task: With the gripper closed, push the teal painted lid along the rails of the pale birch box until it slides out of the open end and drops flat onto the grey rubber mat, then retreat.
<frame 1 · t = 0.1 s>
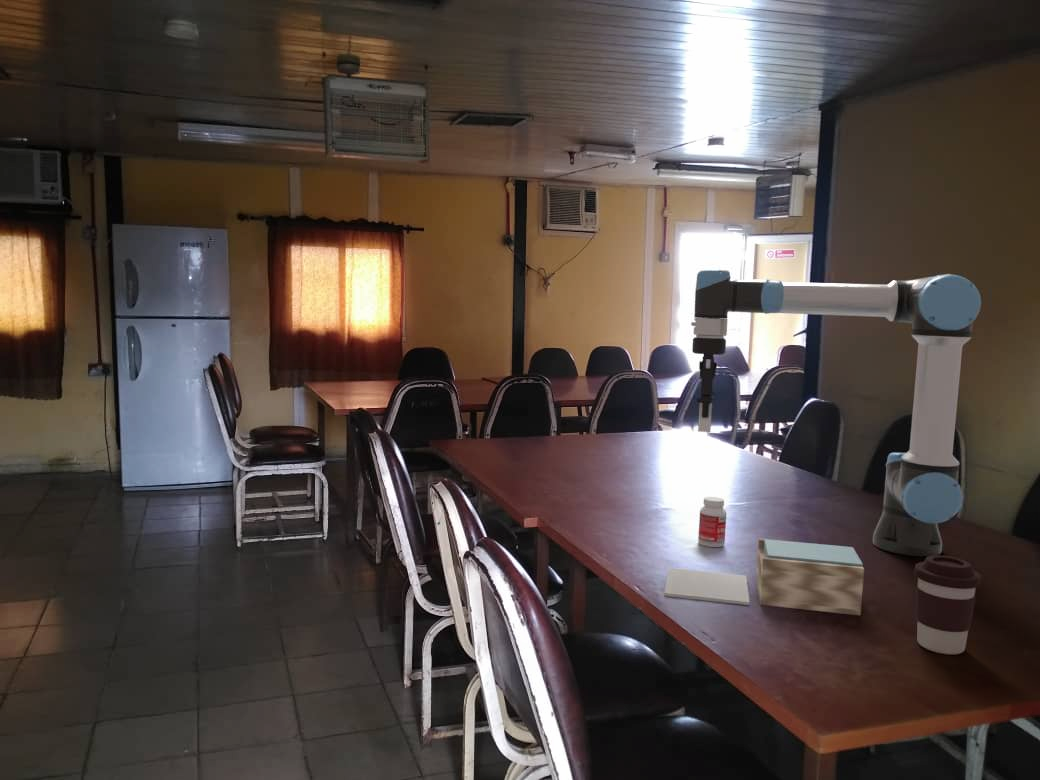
hand: (704, 427, 193), 28 cm above the table, fingers open, 13 cm apart
box: (805, 597, 162), on the table
coffee cup: (940, 647, 140), on the table
pill bottle: (711, 545, 196), on the table
mat: (706, 586, 166), on the table
lid: (810, 562, 161), point 7 cm above the table, touching box
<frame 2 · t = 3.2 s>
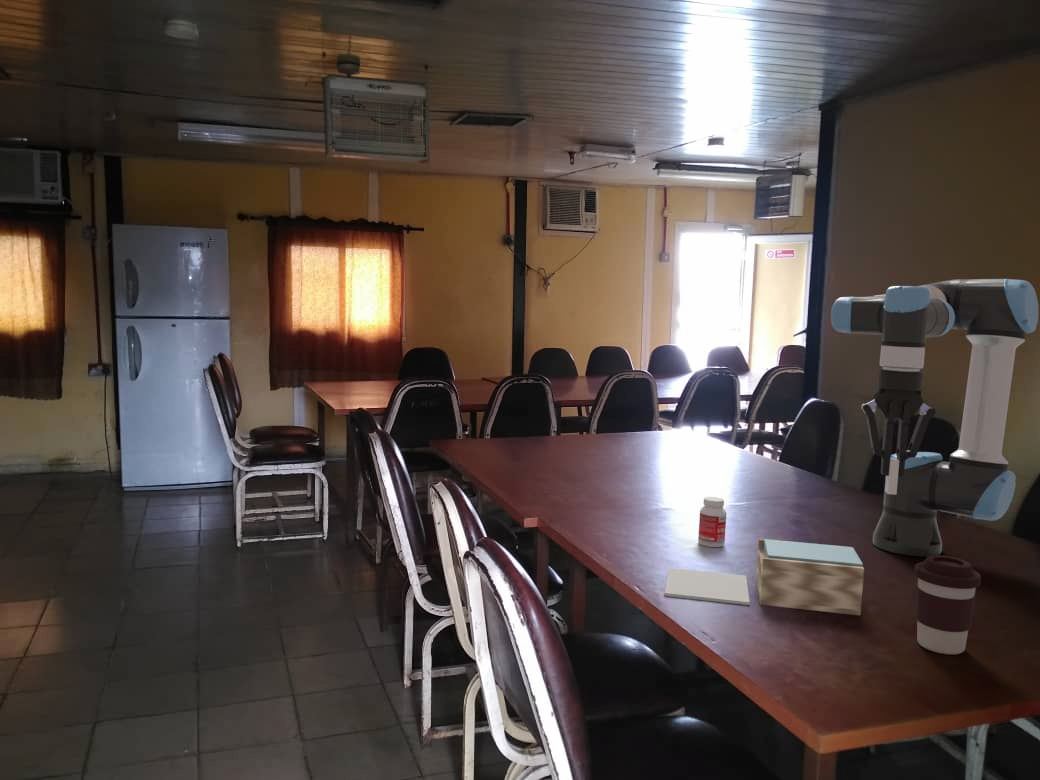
hand: (890, 492, 156), 22 cm above the table, fingers closed
nothing on the table moved.
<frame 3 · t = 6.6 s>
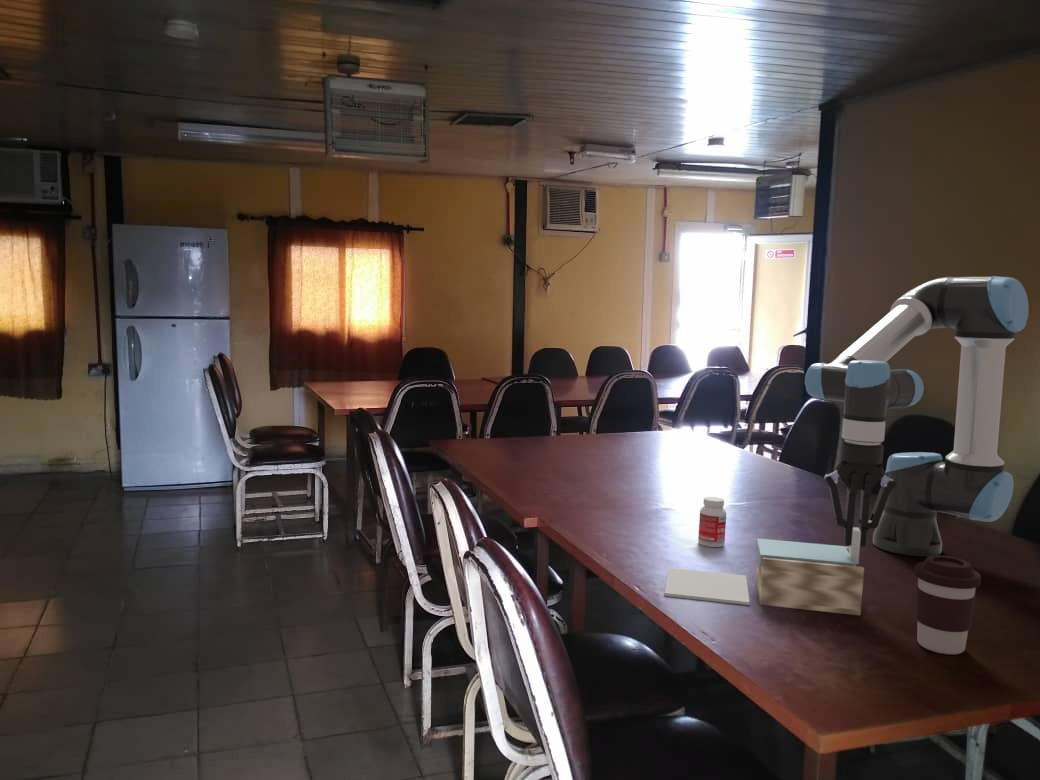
hand: (853, 561, 159), 8 cm above the table, fingers closed
lid: (802, 562, 161), point 7 cm above the table
everything else where it was.
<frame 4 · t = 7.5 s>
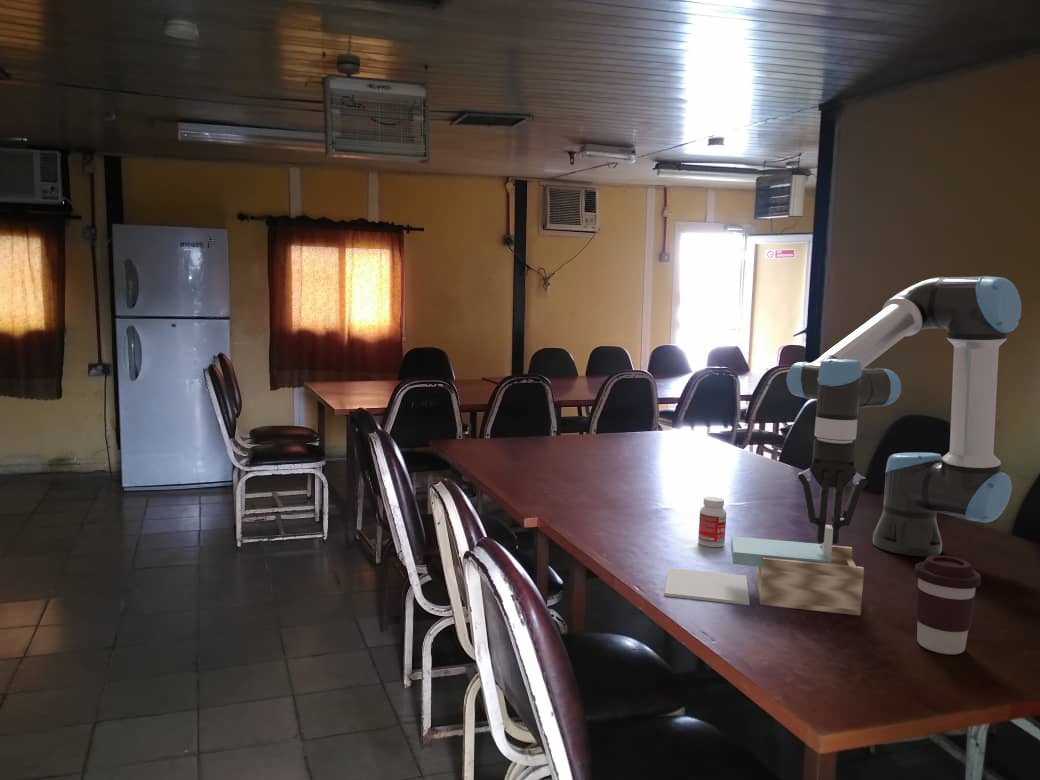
hand: (825, 559, 160), 8 cm above the table, fingers closed
lid: (776, 559, 162), point 7 cm above the table, touching gripper
everything else where it was.
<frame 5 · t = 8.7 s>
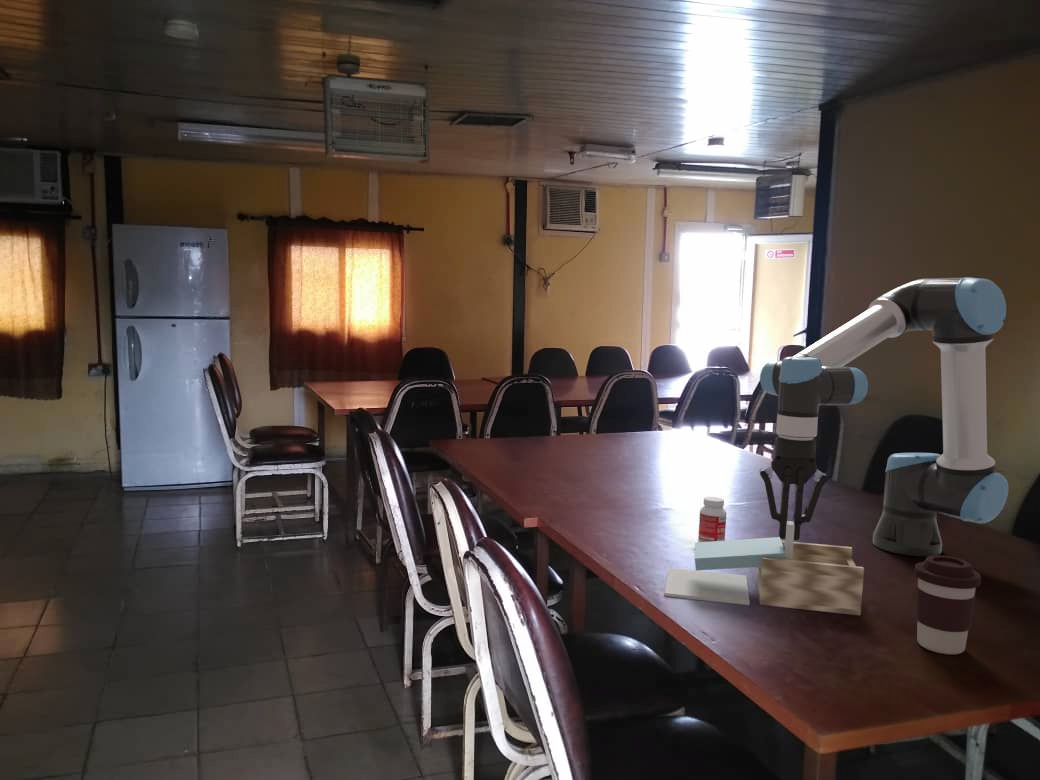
hand: (787, 555, 162), 8 cm above the table, fingers closed
lid: (739, 559, 164), point 6 cm above the table, tilted 9°, touching gripper
everything else where it was.
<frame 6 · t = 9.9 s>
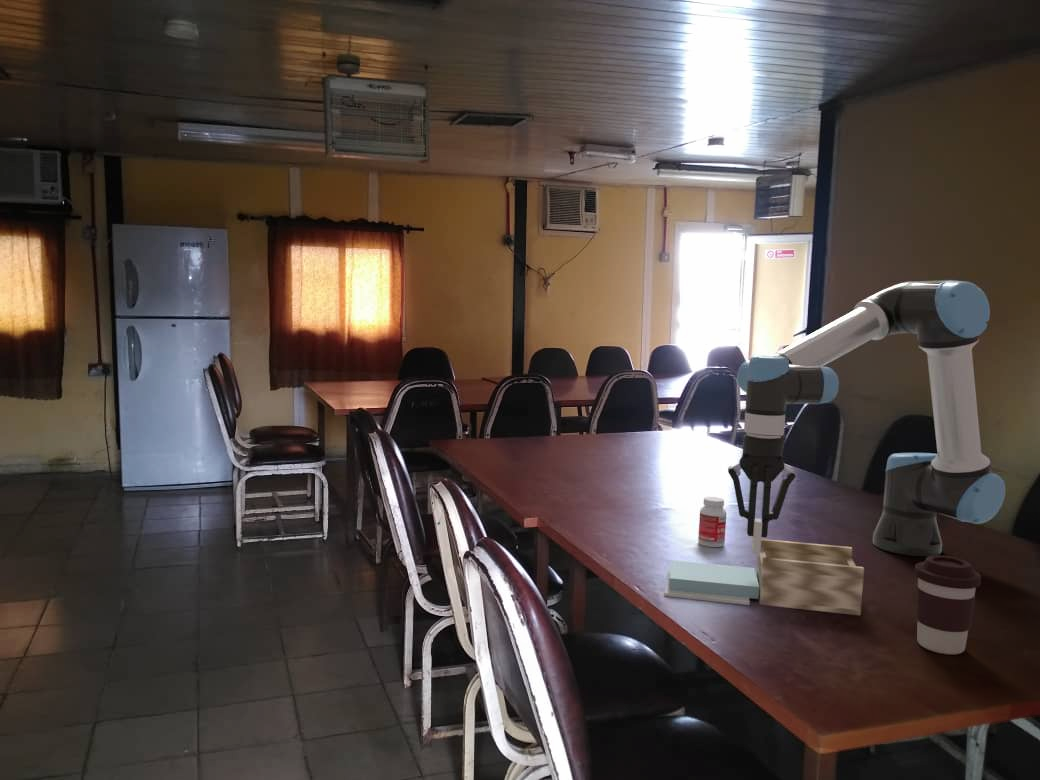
hand: (755, 552, 163), 8 cm above the table, fingers closed
lid: (712, 584, 166), point 1 cm above the table, touching mat
everything else where it was.
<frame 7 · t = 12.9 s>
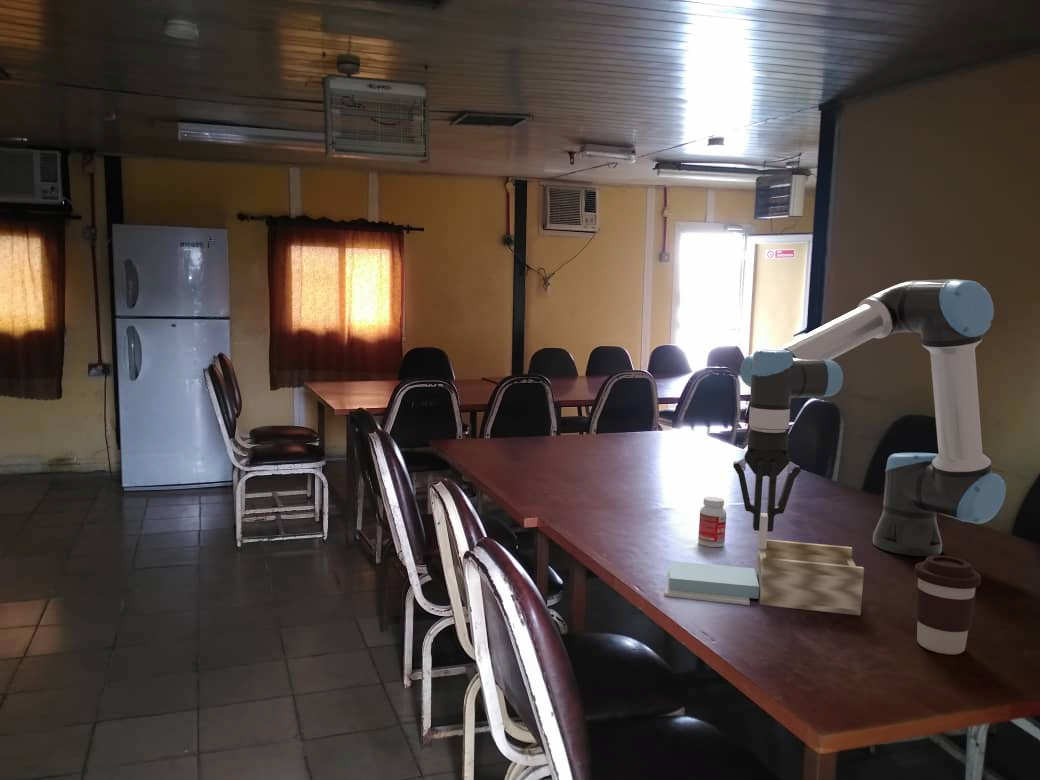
hand: (762, 546, 163), 9 cm above the table, fingers closed
nothing on the table moved.
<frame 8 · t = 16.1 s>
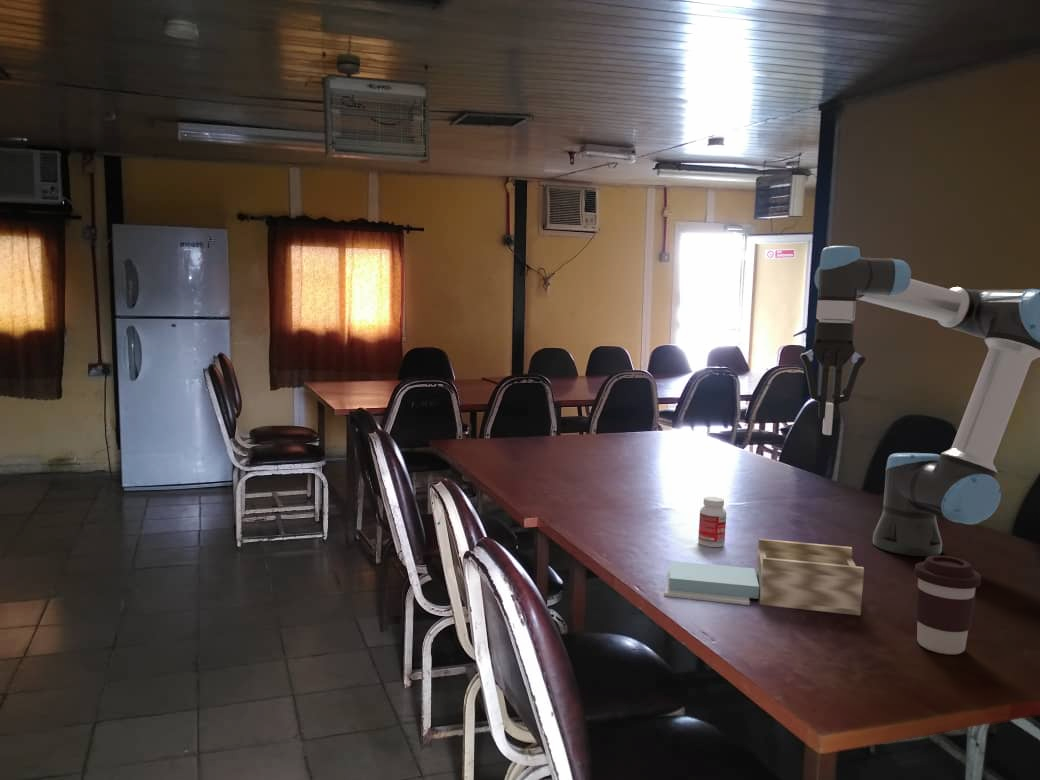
hand: (826, 433, 173), 30 cm above the table, fingers closed
nothing on the table moved.
at the end: lid inside the target area (2.6 cm from its centre), point 0.6 cm above the table; lid tilted 0° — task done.
